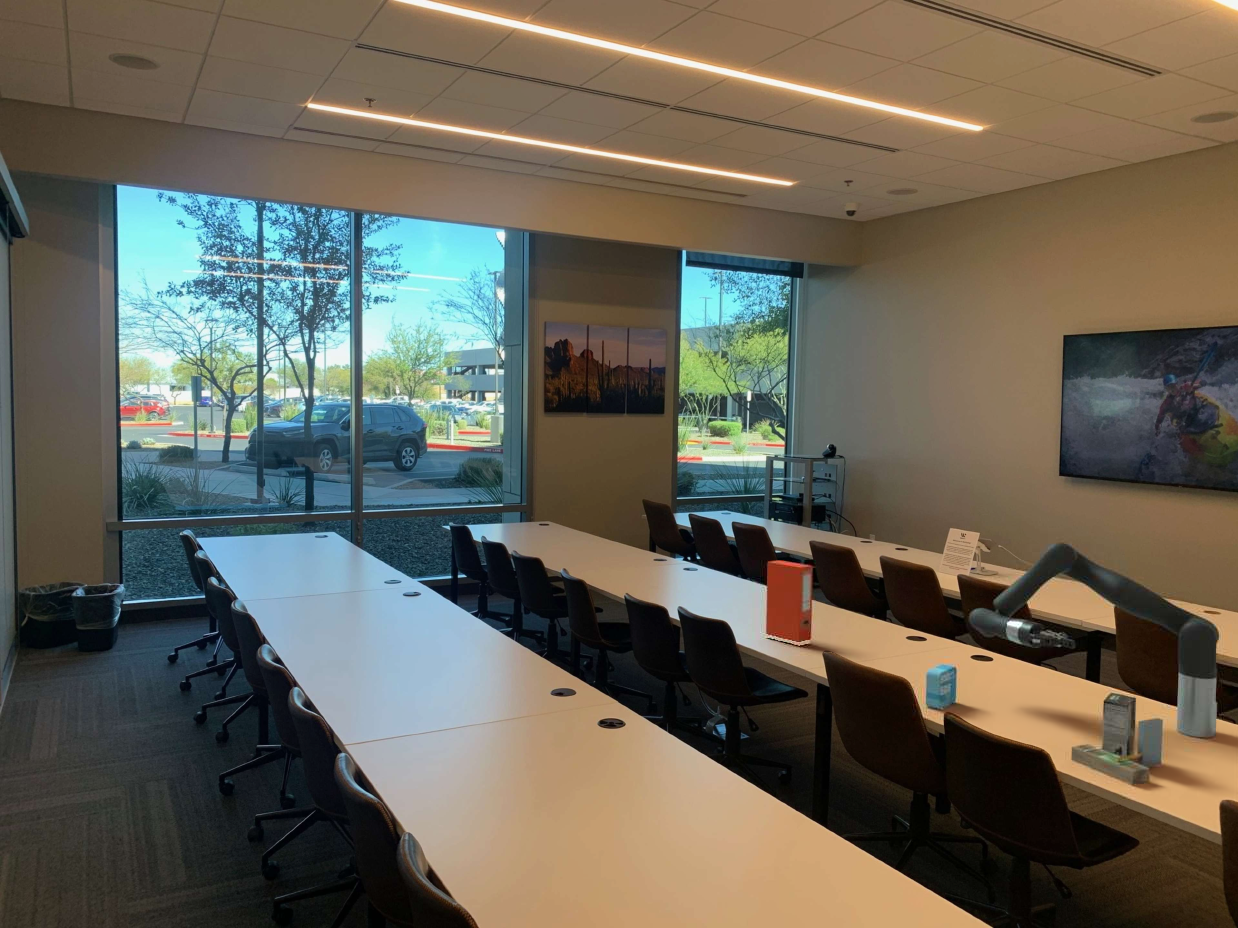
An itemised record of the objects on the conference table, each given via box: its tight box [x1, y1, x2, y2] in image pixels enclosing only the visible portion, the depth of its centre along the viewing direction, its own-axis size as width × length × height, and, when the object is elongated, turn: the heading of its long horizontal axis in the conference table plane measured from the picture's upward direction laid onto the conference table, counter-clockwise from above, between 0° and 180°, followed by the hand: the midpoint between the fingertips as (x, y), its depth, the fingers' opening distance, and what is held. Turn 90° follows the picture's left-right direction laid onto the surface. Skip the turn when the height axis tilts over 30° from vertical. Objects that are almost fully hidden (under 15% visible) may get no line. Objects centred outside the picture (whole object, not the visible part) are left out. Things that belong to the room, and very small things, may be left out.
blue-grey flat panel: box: [1115, 717, 1164, 768], centre depth 231 cm, size 16×2×12 cm, turn 112°
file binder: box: [765, 560, 814, 642], centre depth 364 cm, size 8×17×32 cm, turn 39°
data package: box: [925, 663, 958, 710], centre depth 284 cm, size 12×4×12 cm, turn 134°
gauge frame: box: [1071, 743, 1150, 786], centre depth 232 cm, size 6×18×4 cm, turn 22°
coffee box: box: [1101, 692, 1137, 761], centre depth 241 cm, size 9×6×16 cm
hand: (1073, 644), depth 260 cm, fingers closed
